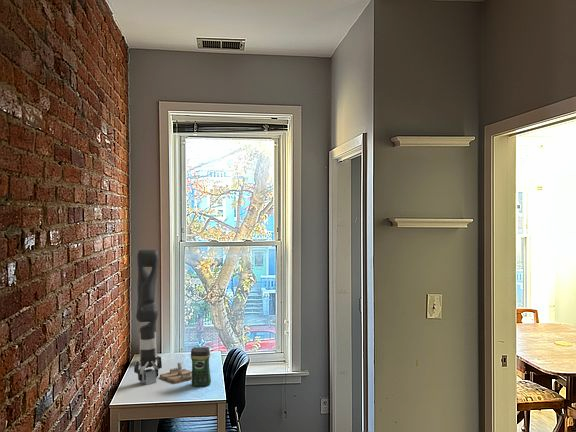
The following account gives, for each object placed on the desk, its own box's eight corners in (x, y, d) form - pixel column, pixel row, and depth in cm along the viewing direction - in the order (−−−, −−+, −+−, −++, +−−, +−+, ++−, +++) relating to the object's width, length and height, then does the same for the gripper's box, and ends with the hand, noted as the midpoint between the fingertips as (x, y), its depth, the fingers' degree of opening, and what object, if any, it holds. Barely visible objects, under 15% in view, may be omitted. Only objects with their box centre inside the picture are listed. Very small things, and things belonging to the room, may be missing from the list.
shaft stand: (159, 377, 295) (159, 363, 295) (184, 371, 306) (184, 357, 305) (175, 383, 284) (174, 368, 284) (200, 377, 295) (199, 363, 294)
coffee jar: (211, 382, 286) (211, 345, 286) (209, 386, 278) (208, 349, 278) (192, 382, 286) (192, 345, 286) (189, 387, 279) (189, 349, 278)
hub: (140, 382, 287) (140, 370, 287) (150, 380, 291) (150, 368, 291) (146, 385, 283) (145, 373, 283) (156, 382, 287) (156, 370, 287)
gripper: (156, 343, 294) (157, 374, 295) (131, 348, 285) (131, 380, 285) (163, 346, 289) (164, 377, 289) (138, 351, 279) (139, 383, 279)
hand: (148, 379), depth 287 cm, fingers open, 8 cm apart
